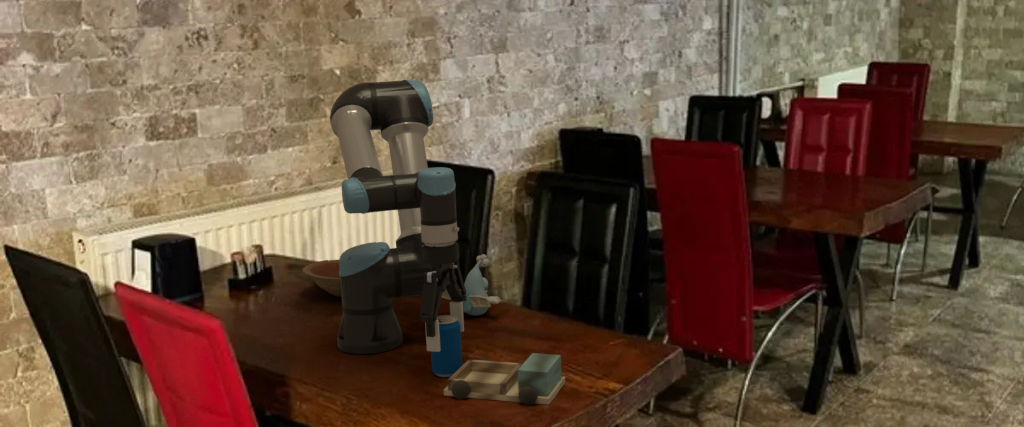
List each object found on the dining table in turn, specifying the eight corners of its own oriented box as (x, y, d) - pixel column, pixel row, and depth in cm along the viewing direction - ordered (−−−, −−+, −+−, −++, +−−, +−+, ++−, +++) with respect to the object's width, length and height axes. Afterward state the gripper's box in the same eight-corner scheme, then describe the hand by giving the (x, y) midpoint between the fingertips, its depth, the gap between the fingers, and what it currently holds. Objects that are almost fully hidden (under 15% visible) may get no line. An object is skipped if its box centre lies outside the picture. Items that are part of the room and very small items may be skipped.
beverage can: (432, 368, 216) (429, 315, 213) (462, 366, 216) (459, 313, 214) (432, 379, 209) (429, 324, 207) (463, 377, 210) (460, 322, 207)
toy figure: (515, 314, 251) (512, 257, 248) (487, 325, 243) (484, 266, 240) (466, 304, 262) (463, 249, 259) (438, 314, 254) (435, 257, 251)
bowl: (385, 304, 265) (383, 275, 263) (296, 307, 265) (293, 278, 264) (396, 280, 288) (394, 253, 286) (314, 283, 289) (312, 256, 287)
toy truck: (441, 397, 199) (440, 368, 198) (467, 372, 213) (465, 344, 211) (547, 407, 192) (546, 376, 191) (566, 380, 206) (565, 351, 205)
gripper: (433, 256, 194) (440, 360, 198) (477, 230, 217) (482, 324, 221) (398, 255, 197) (405, 358, 200) (445, 229, 220) (451, 322, 224)
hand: (446, 340), depth 211 cm, fingers open, 13 cm apart
